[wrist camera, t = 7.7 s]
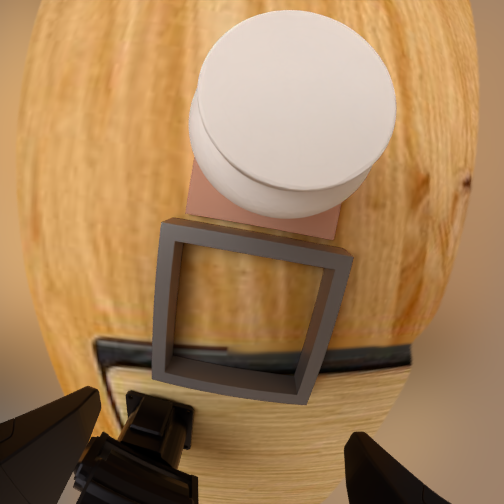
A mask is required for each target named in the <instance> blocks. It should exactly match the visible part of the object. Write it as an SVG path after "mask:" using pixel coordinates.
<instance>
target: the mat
mask: <svg viewBox="0 0 504 504" xmlns="http://www.w3.org/2000/svg"><path fill="white" fill-rule="evenodd" d="M340 208H341V203H340V204H338V205H337V206H335V207H333V208H331V209H329V210H327V211H324V212H322V213H319V214H316V215H313V216H308V217H304V218H295V219H279V218H271V217H266V216H262V215H259V214H256V213H253V212H250V211H248V210H245V209H243V208H241V207H239V206H238V205H236V204H234V203H233V202H231V201H230V200H228V199H227V198H226V197H224V196H223V195H222V194H221V193H219V192H218V191H217V190H216V189H215V188H214V187H213V186H212V184H211V183H210V182H209V181H208V180H207V178H206V177H205V175H204V174H203V172H202V171H201V169H200V167H199V165H198V163H197V161H196V159H195V157H194V163H193V169H192V175H191V181H190V187H189V193H188V199H187V206H186V213H185V214H191V215H197V216H203V217H209V218H215V219H221V220H227V221H232V222H238V223H244V224H249V225H255V226H260V227H266V228H271V229H277V230H282V231H287V232H293V233H298V234H303V235H308V236H314V237H319V238H324V239H329V240H334V236H335V231H336V227H337V222H338V217H339V213H340Z"/></svg>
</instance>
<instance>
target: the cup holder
mask: <svg viewBox="0 0 504 504" xmlns="http://www.w3.org/2000/svg"><path fill="white" fill-rule="evenodd" d="M183 242H184V243H189V244H195V245H200V246H206V247H211V248H217V249H222V250H228V251H233V252H239V253H245V254H250V255H256V256H261V257H267V258H273V259H278V260H284V261H289V262H295V263H301V264H306V265H312V266H317V267H323V268H324V272H323V276H322V280H321V284H320V288H319V292H318V296H317V300H316V303H315V307H314V311H313V314H312V318H311V322H310V325H309V329H308V332H307V336H306V339H305V342H304V346H303V349H302V352H301V356H300V359H299V362H298V365H297V369H296V372H295V375H294V376H290V375H281V374H274V373H266V372H259V371H252V370H246V369H240V368H234V367H228V366H222V365H217V364H212V363H207V362H202V361H197V360H192V359H187V358H183V357H178V356H174V355H173V344H174V330H175V318H176V306H177V295H178V285H179V276H180V267H181V258H182V250H183ZM353 258H354V257H353V256H352V255H351V254H349V253H348V252H347V251H346V250H344V249H343V248H339V247H333V246H328V245H323V244H318V243H313V242H307V241H302V240H297V239H292V238H286V237H281V236H275V235H270V234H265V233H259V232H254V231H248V230H242V229H237V228H231V227H225V226H220V225H214V224H208V223H202V222H196V221H190V220H185V219H179V218H170V219H168V220H166V221H163V222H161V230H160V238H159V248H158V258H157V269H156V282H155V296H154V313H153V338H152V379H153V380H157V381H161V382H165V383H169V384H173V385H177V386H182V387H186V388H191V389H195V390H200V391H205V392H210V393H216V394H221V395H227V396H233V397H239V398H246V399H253V400H260V401H268V402H277V403H286V404H297V405H307V402H308V400H309V397H310V395H311V392H312V389H313V387H314V384H315V381H316V379H317V376H318V373H319V370H320V367H321V365H322V362H323V359H324V356H325V353H326V350H327V347H328V344H329V341H330V338H331V335H332V332H333V329H334V326H335V322H336V319H337V316H338V312H339V309H340V306H341V302H342V299H343V295H344V292H345V288H346V285H347V281H348V277H349V274H350V270H351V266H352V262H353Z"/></svg>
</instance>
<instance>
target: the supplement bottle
mask: <svg viewBox="0 0 504 504" xmlns="http://www.w3.org/2000/svg"><path fill="white" fill-rule="evenodd" d="M395 121H396V97H395V91H394V87H393V83H392V80H391V77H390V75H389V72H388V70H387V68H386V66H385V64H384V63H383V61H382V59H381V58H380V56H379V55H378V54H377V52H376V51H375V50H374V49H373V48H372V46H371V45H369V44H368V42H367V41H366V40H364V39H363V38H362V37H361V36H360V35H359V34H357V33H356V32H355V31H353V30H352V29H350V28H349V27H347V26H346V25H344V24H342V23H340V22H338V21H336V20H334V19H331V18H329V17H326V16H323V15H320V14H316V13H312V12H306V11H299V10H282V11H272V12H267V13H263V14H260V15H256V16H253V17H251V18H249V19H246V20H244V21H242V22H240V23H239V24H237V25H235V26H234V27H233V28H231V29H230V30H229V31H227V32H226V33H225V34H224V35H223V36H222V37H221V38H220V39H219V40H218V41H217V42H216V43H215V44H214V46H213V47H212V49H211V50H210V51H209V53H208V55H207V57H206V58H205V60H204V63H203V65H202V68H201V71H200V74H199V80H198V87H197V89H196V92H195V94H194V97H193V100H192V103H191V108H190V113H189V135H190V142H191V147H192V150H193V153H194V156H195V159H196V161H197V163H198V165H199V167H200V169H201V171H202V172H203V174H204V175H205V177H206V178H207V180H208V181H209V182H210V183H211V184H212V186H213V187H214V188H215V189H216V190H217V191H218V192H219V193H221V194H222V195H223V196H224V197H226V198H227V199H228V200H230V201H231V202H233V203H234V204H236V205H238V206H239V207H241V208H243V209H245V210H248V211H250V212H253V213H256V214H259V215H262V216H266V217H271V218H279V219H295V218H304V217H308V216H313V215H316V214H319V213H322V212H324V211H327V210H329V209H331V208H333V207H335V206H337V205H338V204H340V203H342V202H343V201H344V200H346V199H347V198H348V197H349V196H350V195H352V194H353V193H354V192H355V191H356V190H357V189H358V188H359V186H360V185H361V184H362V183H363V181H364V180H365V178H366V177H367V175H368V173H369V172H370V170H371V168H372V165H373V164H374V163H375V162H376V161H377V160H378V158H379V157H380V156H381V155H382V153H383V152H384V150H385V149H386V147H387V145H388V143H389V141H390V138H391V136H392V133H393V129H394V126H395Z"/></svg>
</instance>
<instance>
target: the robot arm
mask: <svg viewBox="0 0 504 504" xmlns="http://www.w3.org/2000/svg"><path fill="white" fill-rule="evenodd" d="M131 396H132V397H131ZM126 404H127V413H128V420H127V422H126V424H125V426H124V428H123V430H122V432H121V434H120V436H119V438H118V440H115V439H114V438H112V437H110V436H108V434H107V433H105V432H102V434H101V436H100V437H98V436H97V437H91V434H92V431H93V429H94V426H95V423H96V421H97V418H98V416H99V413H100V411H101V401H100V395H99V391H98V389H96V388H93V387H90V386H86V387H84V388H82V389H80V390H77V391H75V392H73V393H71V394H69V395H66V396H64V397H62V398H60V399H58V400H55V401H53V402H51V403H49V404H46V405H44V406H42V407H39V408H37V409H35V410H32V411H30V412H28V413H25V414H23V415H20V416H18V417H15V419H14V418H13V419H10V420H8V421H5V422H3V423H0V504H57V502H58V500H59V498H60V496H61V494H62V492H63V490H64V488H65V486H66V484H67V482H68V480H69V478H70V476H71V474H72V472H74V474H75V477H74V480H75V483H74V486H73V488H75V489H77V490H78V491H80V492H81V495H80V497H79V499H78V501H77V503H76V504H198V477H197V476H194V475H189V474H187V473H184V472H182V471H179V470H177V469H178V465H179V462H180V458H181V454H182V451H183V449H186V450H188V449H190V447H191V440H192V429H193V418H194V409H193V408H192V407H190V406H187V405H182V404H178V403H174V402H169V401H165V400H161V399H158V398H154V397H150V396H147V395H143V394H140V393H136V392H133V391H128V392H127V394H126ZM188 411H190V412H188ZM90 437H91V439H90ZM89 439H90V441H89ZM88 442H89V443H88ZM344 459H345V476H346V487H347V492H348V499H349V504H451V503H450V502H447V501H446V500H445V499H443V498H442V497H440V496H439V495H438V494H436V493H435V492H434V491H432V490H431V489H430V488H428V487H427V486H426V485H425V484H423V483H422V482H421V481H420V480H418V478H416V477H415V476H414V475H413V474H412V473H411V472H409V471H408V470H407V469H406V468H405V467H404V466H402V465H401V464H400V463H399V462H398V461H397V460H396V459H394V458H393V457H392V456H391V455H390V454H389V453H388V452H386V451H385V450H384V449H383V448H382V447H381V446H380V445H379V444H377V443H376V442H375V441H374V440H373V439H372V438H371V437H370V436H369V435H368V434H366V433H365V432H353V433H352V435H351V436H350V438H349V440H348V442H347V443H346V445H345V447H344Z"/></svg>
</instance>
